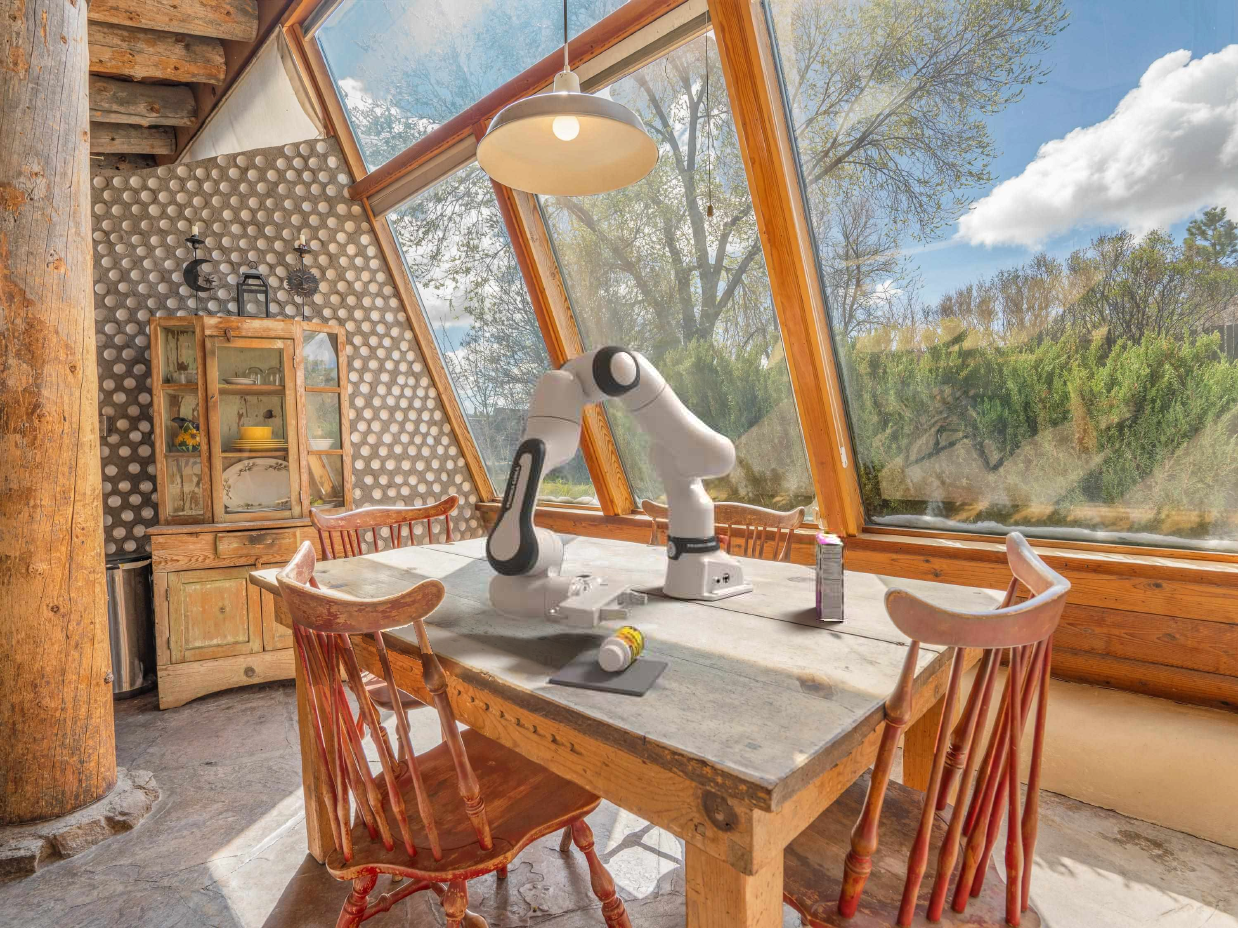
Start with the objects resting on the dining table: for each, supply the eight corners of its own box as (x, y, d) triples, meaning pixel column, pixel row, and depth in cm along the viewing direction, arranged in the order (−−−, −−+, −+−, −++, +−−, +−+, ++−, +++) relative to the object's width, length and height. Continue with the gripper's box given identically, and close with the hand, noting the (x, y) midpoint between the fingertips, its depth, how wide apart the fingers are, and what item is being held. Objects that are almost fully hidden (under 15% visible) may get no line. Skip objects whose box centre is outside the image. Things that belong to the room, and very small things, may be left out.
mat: (582, 654, 116) (582, 651, 116) (667, 665, 111) (667, 662, 111) (549, 682, 104) (548, 678, 104) (643, 695, 99) (643, 691, 99)
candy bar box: (813, 606, 145) (814, 533, 144) (837, 607, 144) (837, 534, 142) (819, 621, 134) (819, 542, 133) (844, 622, 133) (845, 543, 132)
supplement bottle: (651, 648, 113) (631, 670, 103) (624, 659, 115) (602, 681, 105) (637, 619, 113) (615, 638, 104) (611, 630, 115) (587, 649, 106)
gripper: (542, 597, 113) (616, 604, 108) (589, 572, 132) (654, 577, 127) (543, 633, 113) (617, 642, 108) (590, 602, 132) (654, 608, 127)
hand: (637, 606), depth 118 cm, fingers open, 8 cm apart
